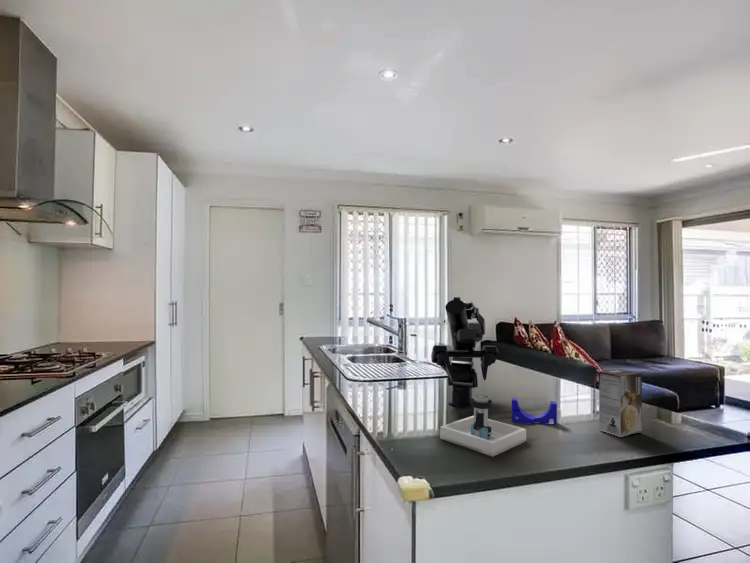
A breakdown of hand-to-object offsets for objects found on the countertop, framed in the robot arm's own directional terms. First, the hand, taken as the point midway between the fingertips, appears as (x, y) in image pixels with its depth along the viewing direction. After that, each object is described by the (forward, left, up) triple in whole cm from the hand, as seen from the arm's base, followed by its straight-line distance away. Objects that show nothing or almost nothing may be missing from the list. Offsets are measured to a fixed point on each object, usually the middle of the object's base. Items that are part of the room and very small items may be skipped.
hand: (468, 379), depth 119 cm
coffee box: (-26, +30, -12) cm, 42 cm away
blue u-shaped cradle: (-16, +11, -13) cm, 23 cm away
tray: (+8, +10, -12) cm, 18 cm away
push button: (+8, +10, -12) cm, 17 cm away
